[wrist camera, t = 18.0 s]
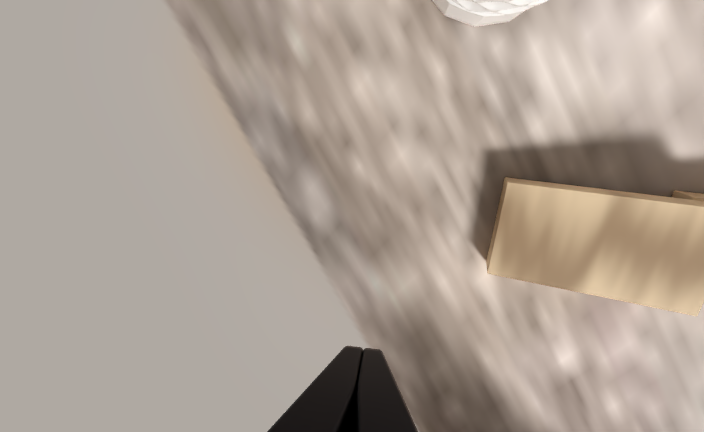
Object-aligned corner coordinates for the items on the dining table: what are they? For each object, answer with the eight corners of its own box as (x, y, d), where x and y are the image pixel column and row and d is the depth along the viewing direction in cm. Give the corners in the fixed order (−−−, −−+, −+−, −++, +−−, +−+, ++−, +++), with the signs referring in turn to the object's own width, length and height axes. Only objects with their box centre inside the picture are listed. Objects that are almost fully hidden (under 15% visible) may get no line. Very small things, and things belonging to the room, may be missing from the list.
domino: (486, 261, 19) (676, 298, 16) (487, 273, 18) (697, 316, 15) (504, 177, 17) (718, 203, 15) (507, 182, 16) (745, 212, 13)
